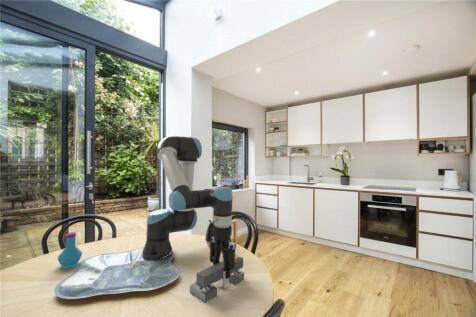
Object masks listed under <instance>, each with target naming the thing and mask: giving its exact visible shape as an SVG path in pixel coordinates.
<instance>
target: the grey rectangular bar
mask: <svg viewBox="0 0 476 317" xmlns="http://www.w3.org/2000/svg"><path fill="white" fill-rule="evenodd" d="M243 268H244V258H243V257H242V256H239V255H236V254H235V266H234V269H232V270H230V274H231V275H233V276H236V275H238V273H236V271H237V270H241V269H243ZM224 269H225V267H224V260H221V261H220V262H219V263H217V264H215V265H213V264H212V265H210V266H208V267H206V268H204V269H202V270H200V271H198V272H196V280H195V282H196V284H198V285H200V286H201V287H203V289H202V288H201V290H202V291H204V292H205V293H206V292H208V291H210V288H208V286H209V285H211V284H212V285H213V284H214V283H217V282H219V281H221V279H222V278H223V270H224ZM218 280H219V281H218ZM222 280H223V279H222ZM216 281H217V282H216Z"/></svg>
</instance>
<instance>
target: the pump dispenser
mask: <svg viewBox="0 0 476 317" xmlns="http://www.w3.org/2000/svg"><path fill="white" fill-rule="evenodd" d="M208 222H209V224H208V226H207V229H206V232H205V242H206V244H207V246H209V247H210V241H209V238H211V237H214V235H213V226H214V219H213V220H211V219H209V220H208Z"/></svg>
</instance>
